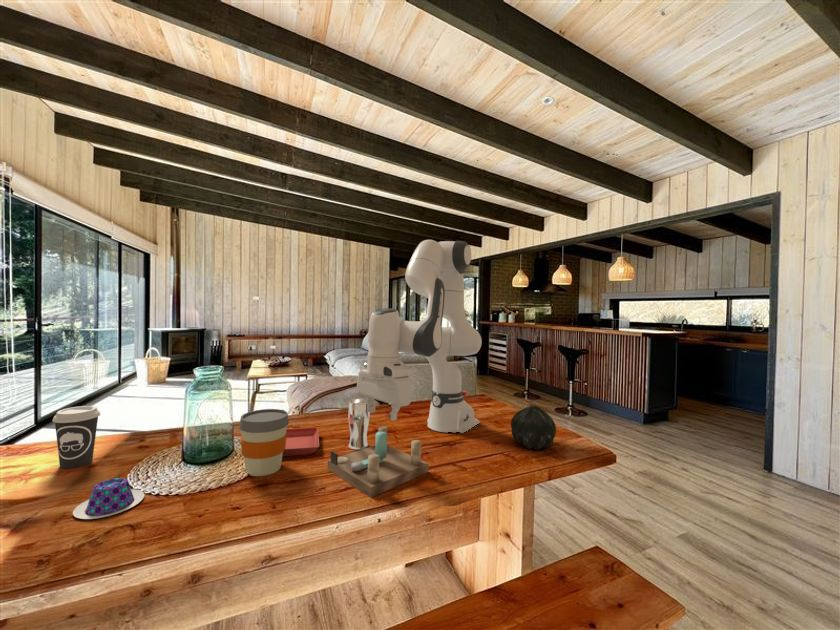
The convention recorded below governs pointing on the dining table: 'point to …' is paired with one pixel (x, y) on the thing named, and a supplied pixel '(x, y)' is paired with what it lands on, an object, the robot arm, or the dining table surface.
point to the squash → (533, 428)
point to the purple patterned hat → (108, 499)
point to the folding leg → (379, 450)
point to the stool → (379, 467)
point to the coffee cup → (76, 435)
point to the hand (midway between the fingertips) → (381, 415)
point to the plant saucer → (301, 441)
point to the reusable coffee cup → (263, 440)
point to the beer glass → (358, 423)
